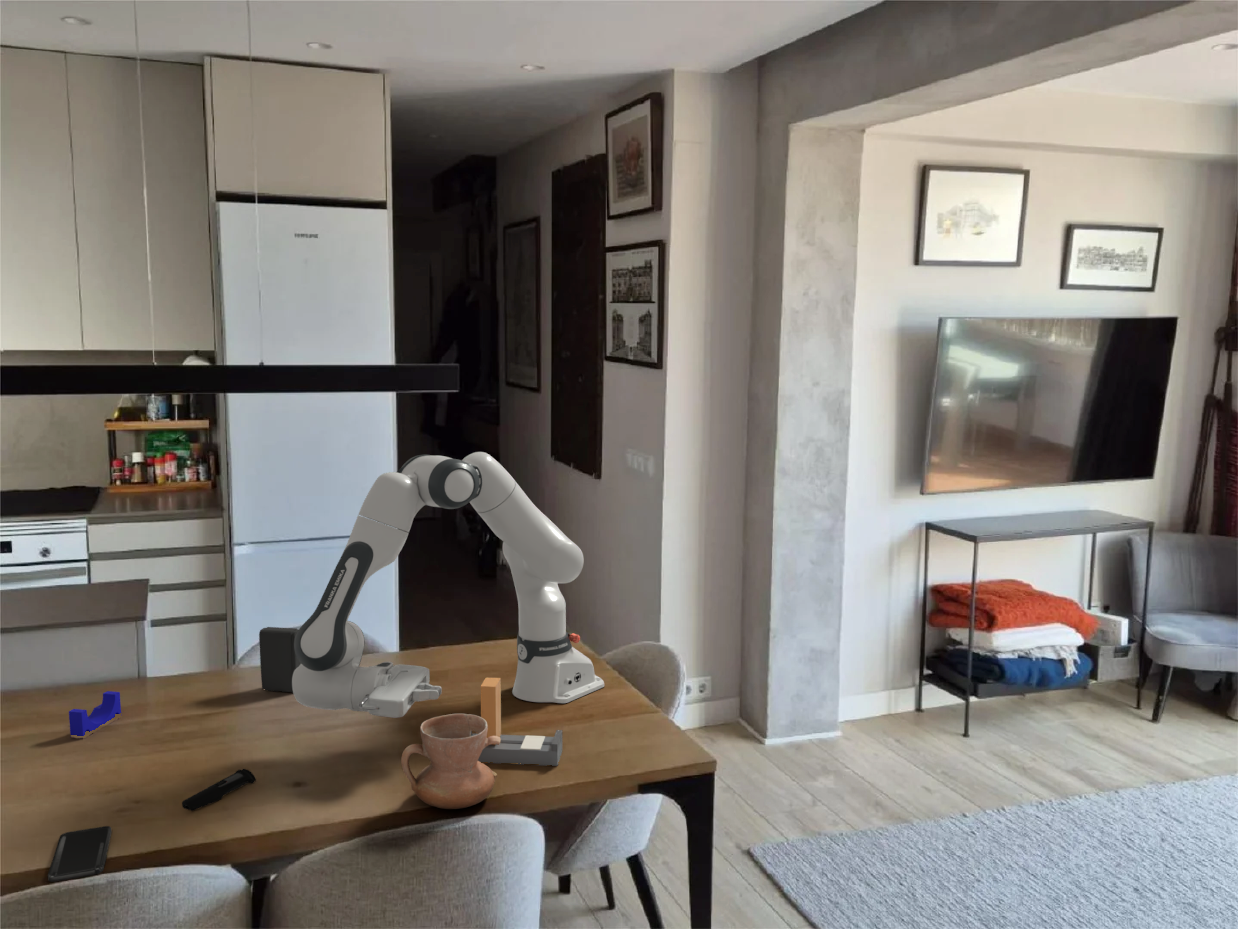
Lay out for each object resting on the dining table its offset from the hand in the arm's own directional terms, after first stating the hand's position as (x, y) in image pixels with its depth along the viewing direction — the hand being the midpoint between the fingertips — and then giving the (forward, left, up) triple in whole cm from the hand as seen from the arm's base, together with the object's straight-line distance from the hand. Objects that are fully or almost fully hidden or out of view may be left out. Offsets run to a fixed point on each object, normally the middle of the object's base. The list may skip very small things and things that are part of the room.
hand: (439, 693), depth 203 cm
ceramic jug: (+8, +18, -13) cm, 24 cm away
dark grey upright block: (+11, -55, -13) cm, 58 cm away
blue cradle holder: (+51, -59, -13) cm, 79 cm away
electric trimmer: (+41, -10, -13) cm, 44 cm away
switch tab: (-8, +7, -9) cm, 14 cm away
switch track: (-10, +10, -13) cm, 19 cm away
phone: (+65, -3, -13) cm, 67 cm away
